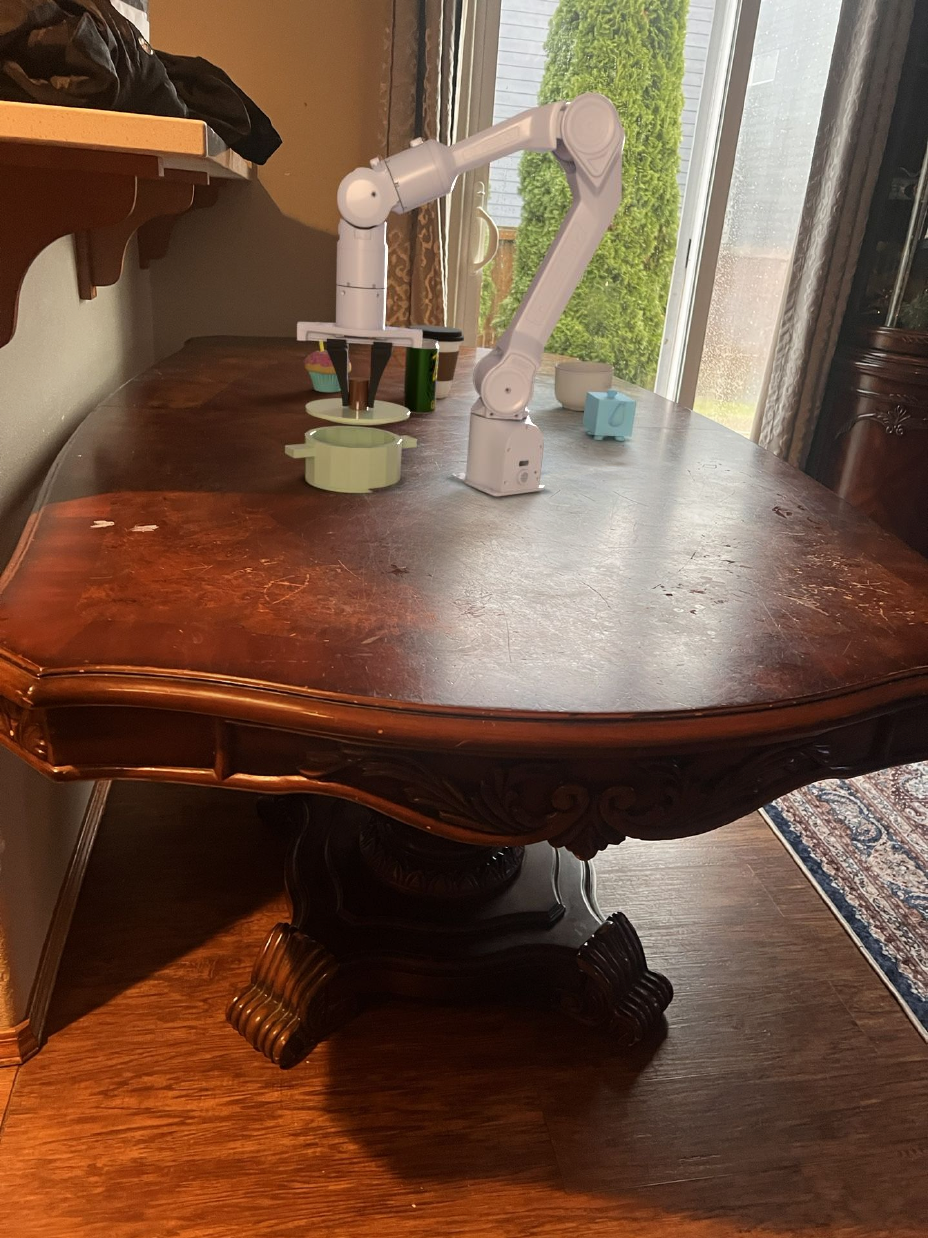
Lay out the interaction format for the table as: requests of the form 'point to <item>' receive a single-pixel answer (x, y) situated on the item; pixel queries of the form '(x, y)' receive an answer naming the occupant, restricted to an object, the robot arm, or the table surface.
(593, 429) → the teapot
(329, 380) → the cupcake
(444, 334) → the coffee cup
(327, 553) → the table surface
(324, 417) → the pale green pot lid
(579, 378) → the teacup
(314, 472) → the pale green cooking pot
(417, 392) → the beer can
